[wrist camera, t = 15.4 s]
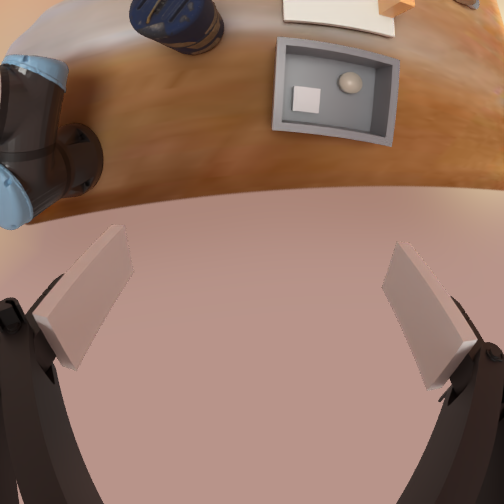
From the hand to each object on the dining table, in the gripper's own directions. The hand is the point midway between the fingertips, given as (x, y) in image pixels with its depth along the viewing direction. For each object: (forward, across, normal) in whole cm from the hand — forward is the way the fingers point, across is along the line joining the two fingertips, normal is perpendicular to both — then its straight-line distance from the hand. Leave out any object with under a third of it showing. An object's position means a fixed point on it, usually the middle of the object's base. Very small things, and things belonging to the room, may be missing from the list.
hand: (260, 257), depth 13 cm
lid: (+37, +11, +29) cm, 48 cm away
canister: (+37, -12, +20) cm, 44 cm away
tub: (+37, +10, +10) cm, 39 cm away
